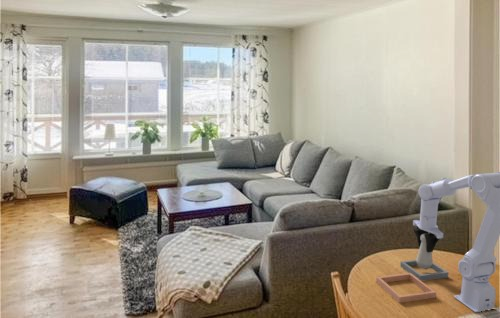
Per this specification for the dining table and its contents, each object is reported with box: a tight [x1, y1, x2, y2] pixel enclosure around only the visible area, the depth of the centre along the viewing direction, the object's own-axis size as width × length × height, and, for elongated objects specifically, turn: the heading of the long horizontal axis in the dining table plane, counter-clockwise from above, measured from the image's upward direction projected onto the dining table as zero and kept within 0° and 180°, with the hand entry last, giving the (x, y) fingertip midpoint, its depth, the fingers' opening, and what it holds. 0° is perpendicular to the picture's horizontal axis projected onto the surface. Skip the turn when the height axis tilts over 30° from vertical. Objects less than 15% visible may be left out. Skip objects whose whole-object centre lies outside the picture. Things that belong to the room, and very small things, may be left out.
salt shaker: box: [415, 234, 434, 270], centre depth 144 cm, size 6×6×13 cm
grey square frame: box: [400, 259, 449, 282], centre depth 146 cm, size 12×12×2 cm
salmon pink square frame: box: [375, 272, 437, 304], centre depth 133 cm, size 14×14×2 cm
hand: (425, 249), depth 144 cm, fingers closed on salt shaker, 4 cm apart
